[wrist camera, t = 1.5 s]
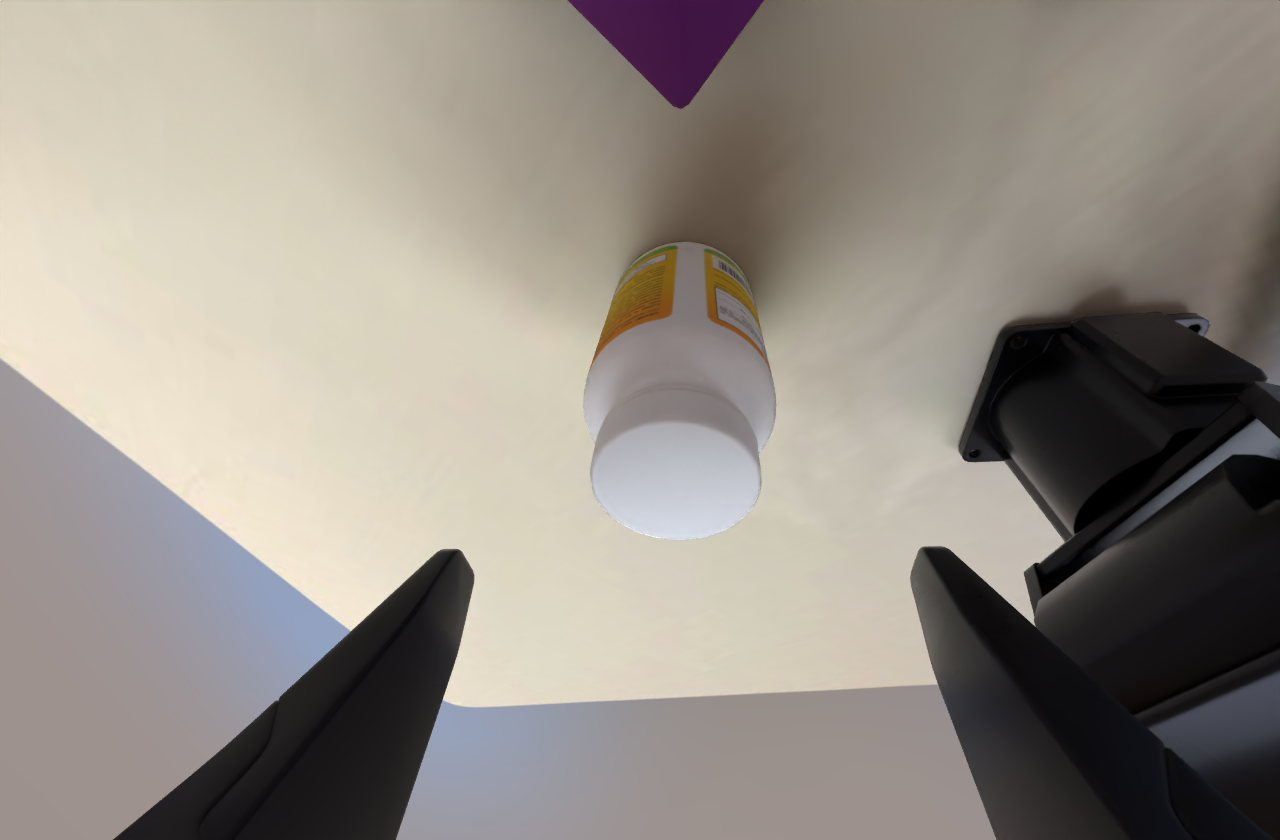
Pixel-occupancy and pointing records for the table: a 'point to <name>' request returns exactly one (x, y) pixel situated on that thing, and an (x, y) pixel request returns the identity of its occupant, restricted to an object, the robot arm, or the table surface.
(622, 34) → the perfume bottle
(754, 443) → the supplement bottle
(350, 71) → the table surface
